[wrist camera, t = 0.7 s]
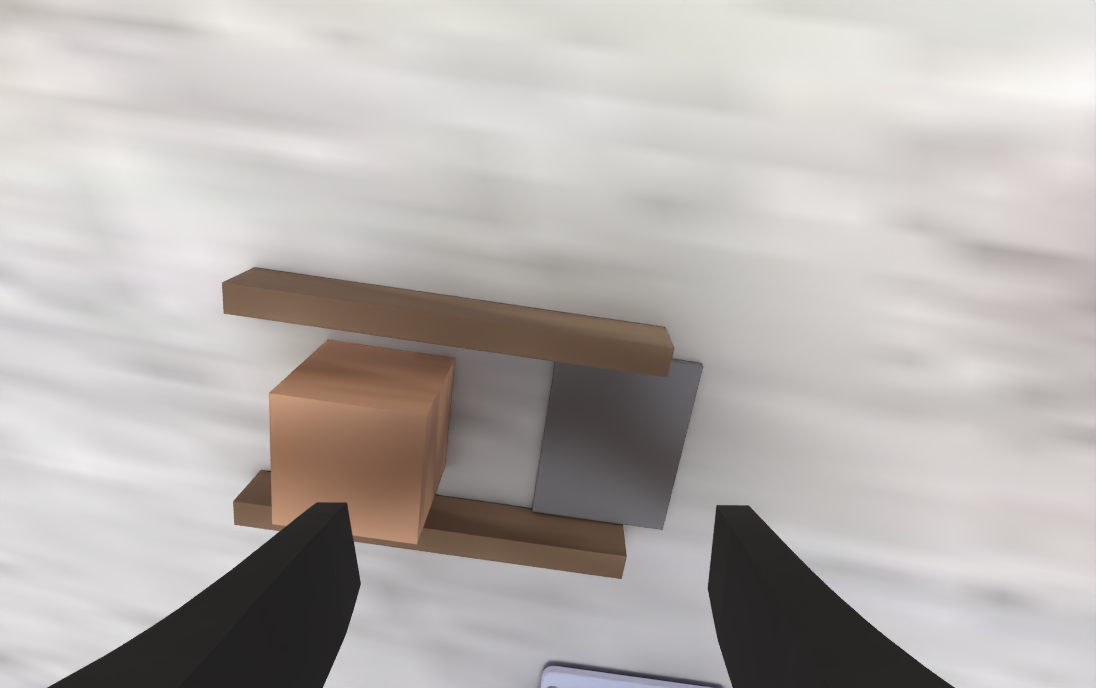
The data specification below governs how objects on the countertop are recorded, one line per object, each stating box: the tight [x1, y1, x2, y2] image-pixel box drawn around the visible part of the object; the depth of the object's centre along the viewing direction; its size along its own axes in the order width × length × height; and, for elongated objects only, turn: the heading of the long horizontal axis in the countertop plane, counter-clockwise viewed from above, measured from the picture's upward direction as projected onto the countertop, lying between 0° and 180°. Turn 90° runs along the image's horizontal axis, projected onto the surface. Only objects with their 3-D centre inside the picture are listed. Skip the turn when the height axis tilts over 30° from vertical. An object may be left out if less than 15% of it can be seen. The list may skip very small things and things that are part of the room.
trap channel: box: [222, 268, 703, 579], centre depth 21 cm, size 9×16×2 cm, turn 82°
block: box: [269, 340, 455, 544], centre depth 20 cm, size 4×4×4 cm
